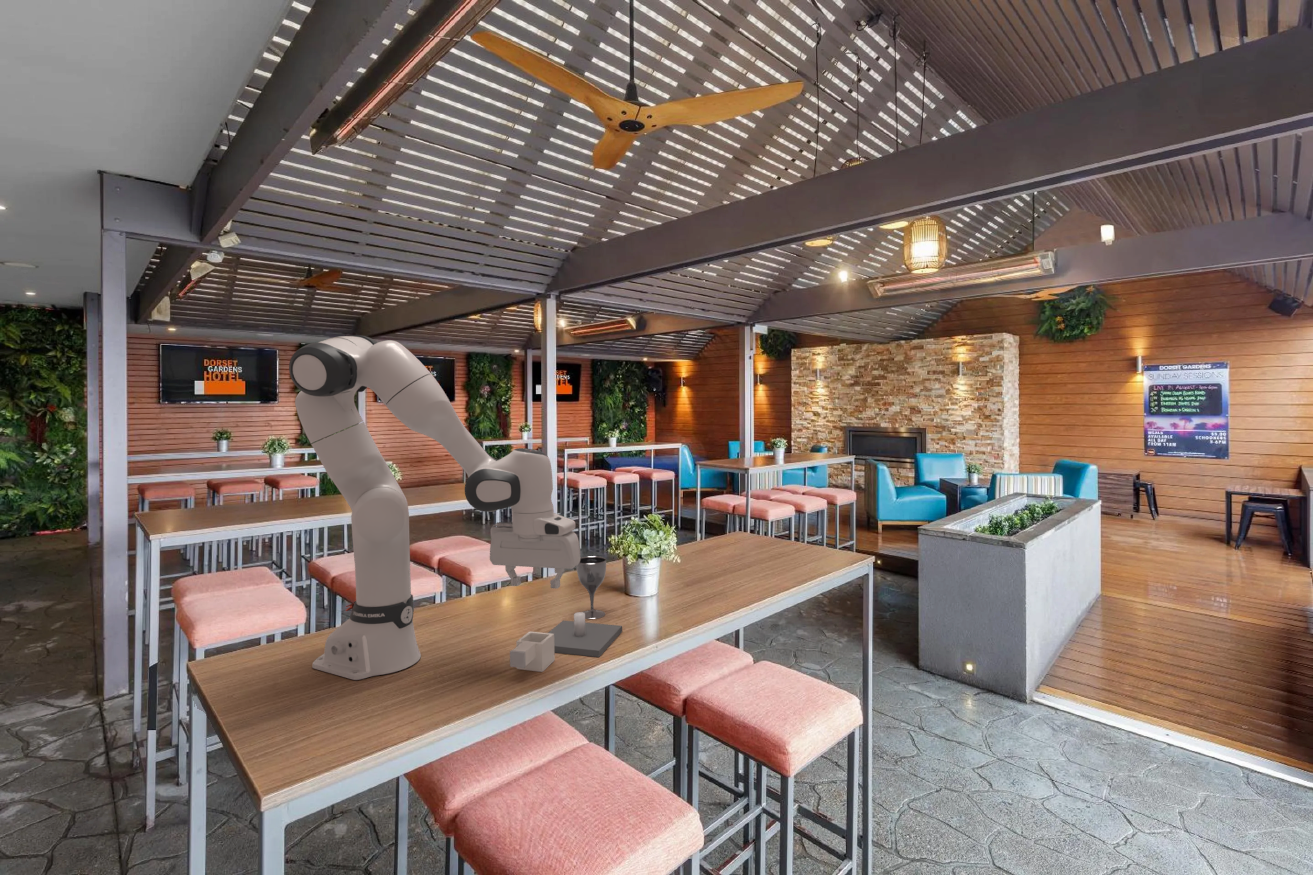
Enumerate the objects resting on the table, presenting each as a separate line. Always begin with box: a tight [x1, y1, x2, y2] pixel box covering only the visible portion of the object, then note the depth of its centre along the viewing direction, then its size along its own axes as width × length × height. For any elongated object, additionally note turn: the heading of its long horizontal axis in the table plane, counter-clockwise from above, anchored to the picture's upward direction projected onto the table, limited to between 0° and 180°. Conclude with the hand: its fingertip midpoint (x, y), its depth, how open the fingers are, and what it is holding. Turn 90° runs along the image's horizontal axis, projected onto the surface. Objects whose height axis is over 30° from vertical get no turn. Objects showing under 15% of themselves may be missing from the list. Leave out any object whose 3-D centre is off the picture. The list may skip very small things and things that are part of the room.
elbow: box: [509, 631, 556, 673], centre depth 129 cm, size 11×6×6 cm, turn 164°
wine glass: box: [576, 555, 607, 620], centre depth 163 cm, size 8×8×15 cm
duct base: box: [547, 611, 623, 658], centre depth 145 cm, size 16×16×6 cm
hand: (535, 586), depth 131 cm, fingers open, 8 cm apart
